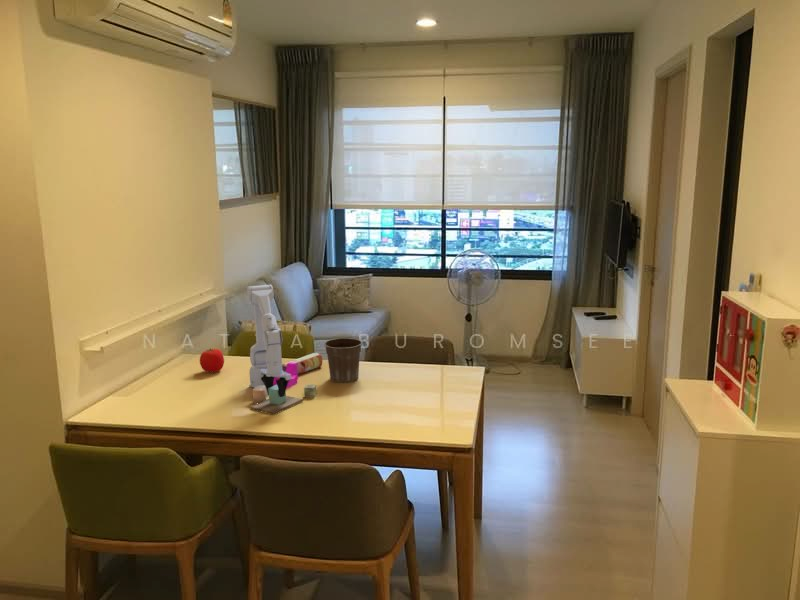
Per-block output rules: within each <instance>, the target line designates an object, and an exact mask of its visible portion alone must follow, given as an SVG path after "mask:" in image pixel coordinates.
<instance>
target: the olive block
mask: <svg viewBox="0 0 800 600" xmlns="http://www.w3.org/2000/svg"><path fill="white" fill-rule="evenodd" d="M303 391H304V395H303V396H304V398H315V397H316V395H317V386H316V384H305V385H304V387H303Z"/></svg>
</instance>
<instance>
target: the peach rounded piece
mask: <svg viewBox="0 0 800 600" xmlns="http://www.w3.org/2000/svg"><path fill="white" fill-rule="evenodd" d="M252 399H253V400H252V401H253V404H255V403H260V402H263V401H265V400H267V396H266V388H263V387H259V388H255V387H253V389H252Z"/></svg>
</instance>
